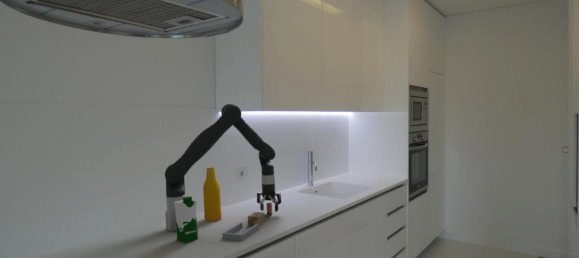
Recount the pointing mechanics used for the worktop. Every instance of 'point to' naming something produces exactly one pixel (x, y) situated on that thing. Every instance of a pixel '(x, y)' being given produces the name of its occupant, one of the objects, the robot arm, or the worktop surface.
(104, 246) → the worktop surface
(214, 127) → the robot arm
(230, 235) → the lane
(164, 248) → the worktop surface
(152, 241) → the worktop surface
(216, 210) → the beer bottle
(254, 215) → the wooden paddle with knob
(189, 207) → the milk carton
